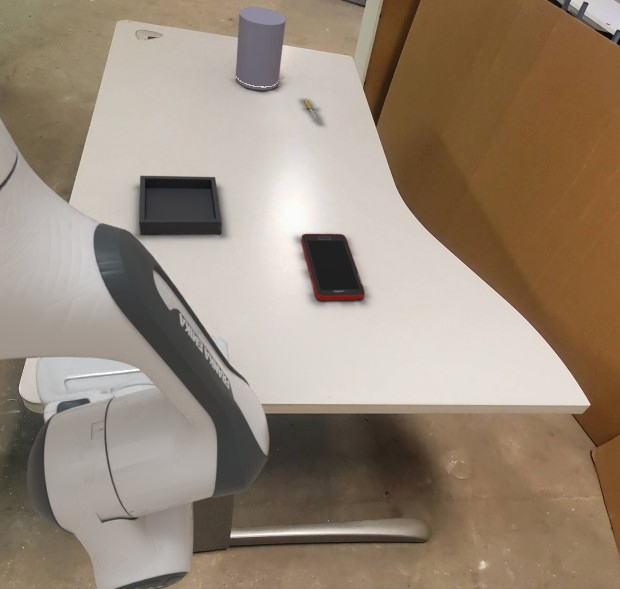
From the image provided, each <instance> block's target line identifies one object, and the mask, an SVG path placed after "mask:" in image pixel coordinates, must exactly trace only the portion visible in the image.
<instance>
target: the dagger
mask: <svg viewBox="0 0 620 589" xmlns="http://www.w3.org/2000/svg"><path fill="white" fill-rule="evenodd" d="M303 101H304V104H305V106H306V110H308V111H309V112H310V113H311V115H312V117H313V118H316V114H315V112H314V110H315V109H314V108H313V107H312V105H311V104H310V102H309V101H308V99H307V98H305V99H304V100H303Z"/></svg>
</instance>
